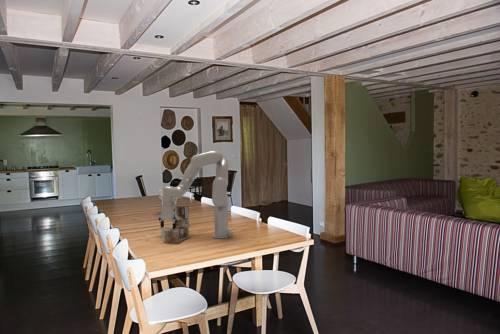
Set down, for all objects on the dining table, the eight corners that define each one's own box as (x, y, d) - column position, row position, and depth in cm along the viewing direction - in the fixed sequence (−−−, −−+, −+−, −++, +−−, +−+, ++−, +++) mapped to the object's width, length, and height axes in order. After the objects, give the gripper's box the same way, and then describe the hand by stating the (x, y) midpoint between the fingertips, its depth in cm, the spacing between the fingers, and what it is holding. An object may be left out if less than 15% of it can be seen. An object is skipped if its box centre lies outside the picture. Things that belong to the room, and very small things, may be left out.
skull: (156, 214, 340) (155, 189, 339) (175, 212, 349) (175, 188, 348) (163, 218, 318) (162, 192, 317) (184, 216, 327) (183, 191, 326)
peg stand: (190, 238, 251) (189, 226, 251) (178, 244, 236) (177, 232, 236) (176, 236, 255) (176, 225, 254) (163, 242, 240) (163, 230, 239)
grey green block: (177, 235, 260) (176, 227, 260) (168, 238, 251) (168, 230, 251) (170, 234, 262) (169, 226, 262) (161, 238, 253) (161, 229, 253)
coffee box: (189, 226, 288) (188, 205, 287) (185, 228, 282) (185, 207, 281) (178, 225, 291) (178, 205, 290) (174, 227, 284) (174, 206, 283)
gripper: (181, 203, 256) (181, 228, 257) (160, 202, 262) (160, 225, 263) (176, 205, 249) (176, 230, 250) (154, 203, 255) (154, 228, 256)
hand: (168, 228), depth 256 cm, fingers open, 9 cm apart
